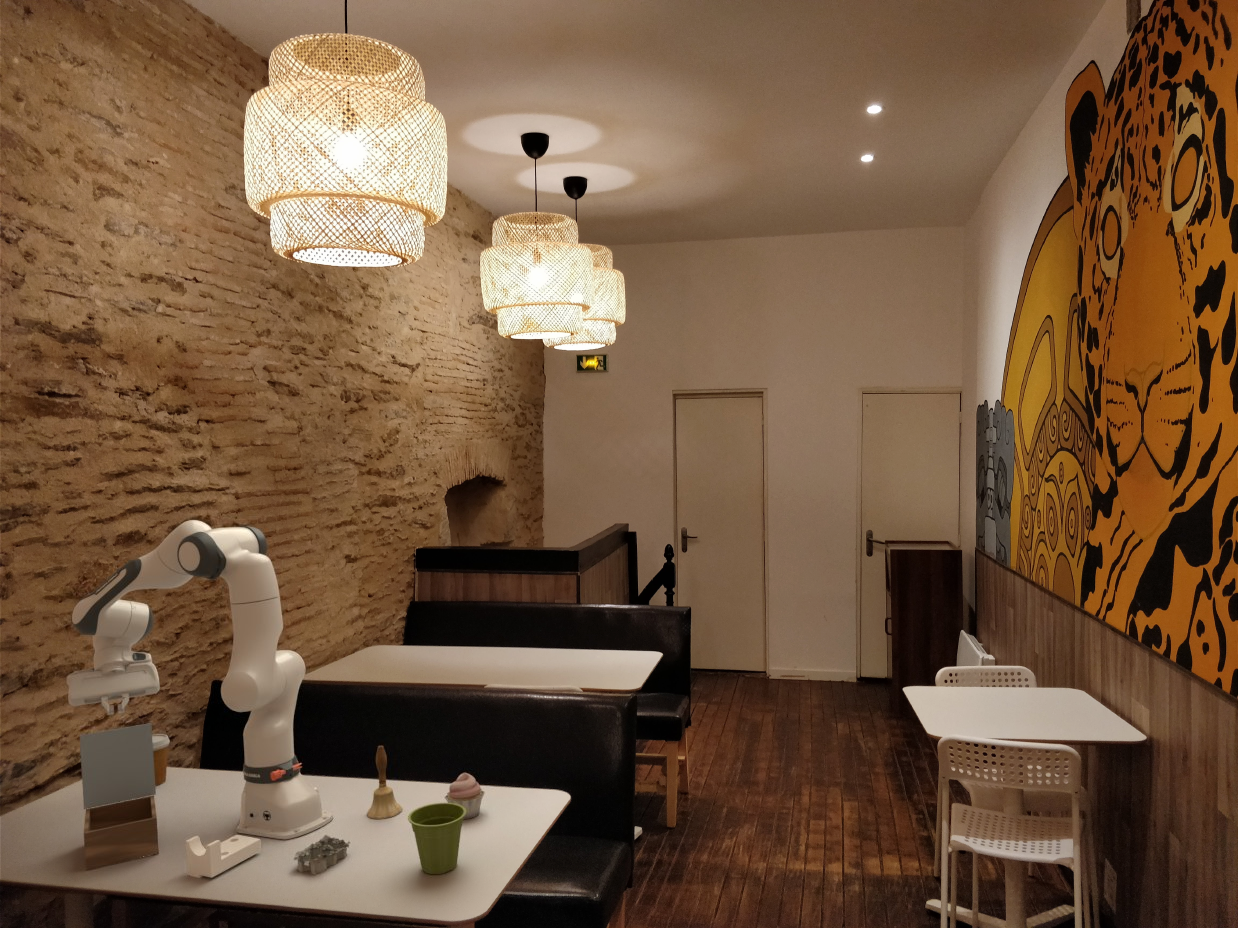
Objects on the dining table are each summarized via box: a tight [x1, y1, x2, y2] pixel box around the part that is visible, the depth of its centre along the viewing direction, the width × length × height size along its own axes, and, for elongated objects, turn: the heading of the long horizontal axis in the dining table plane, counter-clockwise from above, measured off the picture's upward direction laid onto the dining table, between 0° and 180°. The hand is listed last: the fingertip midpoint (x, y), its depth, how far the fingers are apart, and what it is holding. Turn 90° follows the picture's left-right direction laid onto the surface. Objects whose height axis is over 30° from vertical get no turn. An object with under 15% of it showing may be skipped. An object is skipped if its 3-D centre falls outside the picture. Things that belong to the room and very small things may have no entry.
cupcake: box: [444, 772, 486, 820], centre depth 217 cm, size 9×9×10 cm
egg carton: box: [293, 834, 351, 875], centre depth 196 cm, size 11×8×4 cm
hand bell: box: [366, 745, 403, 820], centre depth 221 cm, size 8×8×16 cm
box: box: [83, 795, 160, 871], centre depth 207 cm, size 16×14×8 cm
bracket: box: [185, 834, 262, 879], centre depth 197 cm, size 13×7×8 cm, turn 154°
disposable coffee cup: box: [152, 733, 171, 787], centre depth 249 cm, size 10×10×12 cm
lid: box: [79, 722, 157, 810], centre depth 216 cm, size 17×15×1 cm
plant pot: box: [407, 802, 466, 875], centre depth 190 cm, size 12×12×11 cm
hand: (116, 712), depth 227 cm, fingers closed
